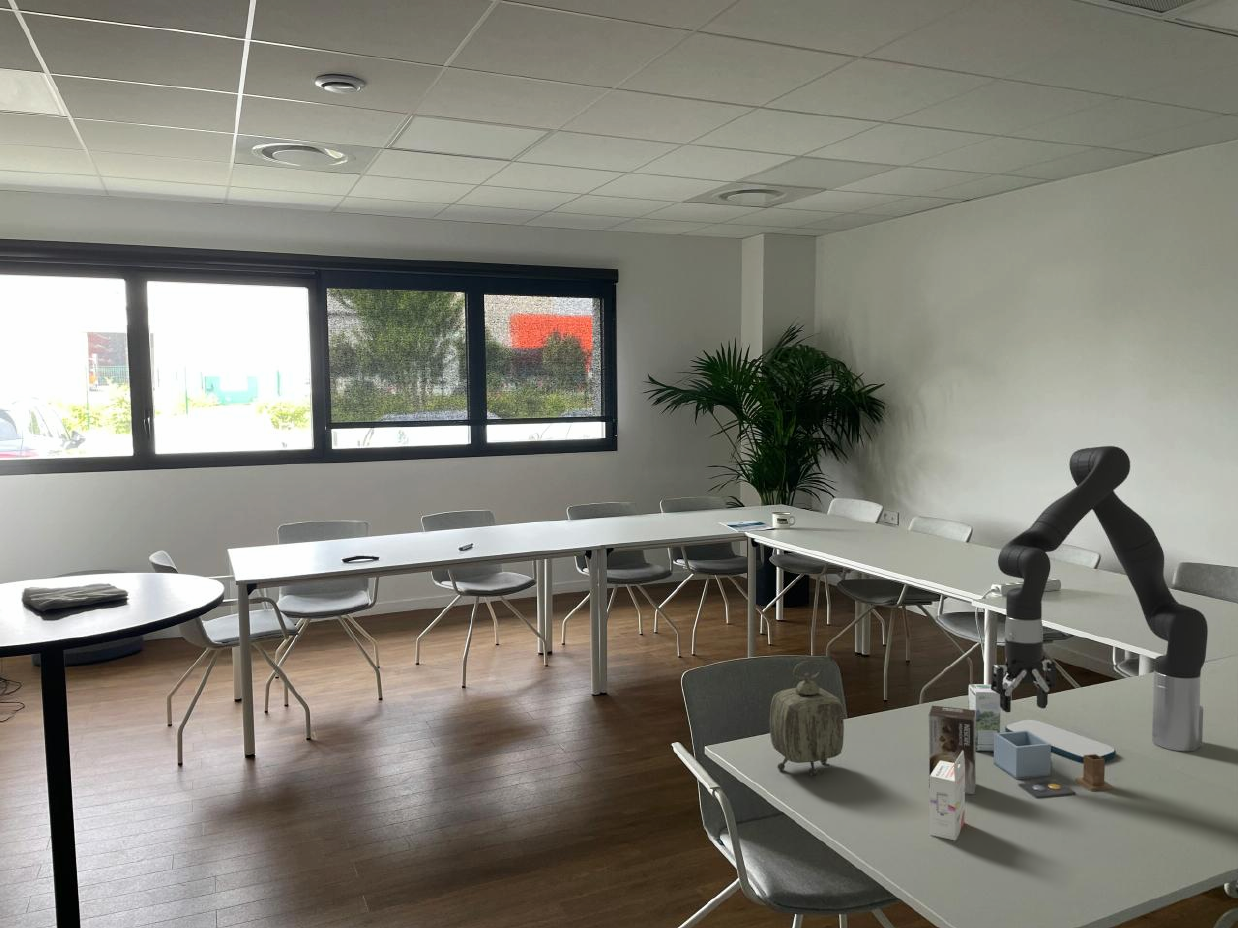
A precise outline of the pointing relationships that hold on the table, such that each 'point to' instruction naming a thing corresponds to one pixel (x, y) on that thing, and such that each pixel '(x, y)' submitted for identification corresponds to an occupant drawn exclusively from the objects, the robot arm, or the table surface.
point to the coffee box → (953, 740)
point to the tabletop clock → (806, 722)
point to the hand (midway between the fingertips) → (1023, 709)
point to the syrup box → (985, 715)
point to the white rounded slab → (1064, 741)
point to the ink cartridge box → (947, 798)
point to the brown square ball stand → (1094, 773)
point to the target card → (1046, 788)
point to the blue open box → (1022, 754)
